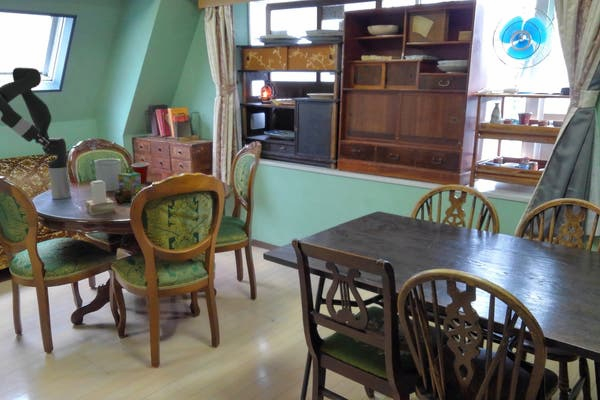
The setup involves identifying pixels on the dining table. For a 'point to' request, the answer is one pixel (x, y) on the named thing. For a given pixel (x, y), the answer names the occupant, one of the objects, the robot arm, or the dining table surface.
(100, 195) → the tin
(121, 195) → the decorative turtle
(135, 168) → the plastic cup
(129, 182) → the chalk box
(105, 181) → the utensil holder
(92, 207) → the block
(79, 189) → the dining table surface
